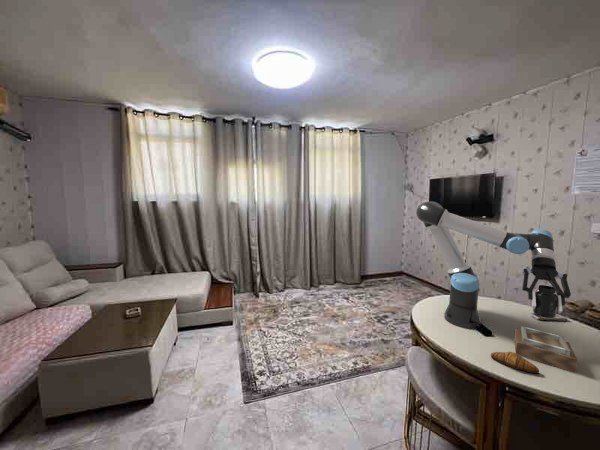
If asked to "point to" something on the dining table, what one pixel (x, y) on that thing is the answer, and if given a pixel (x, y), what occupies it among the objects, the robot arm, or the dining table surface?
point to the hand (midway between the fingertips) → (546, 309)
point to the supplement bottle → (546, 302)
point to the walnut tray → (545, 348)
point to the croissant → (514, 361)
